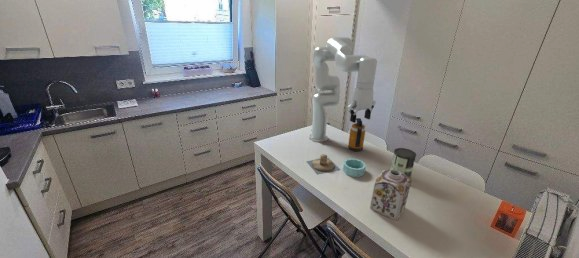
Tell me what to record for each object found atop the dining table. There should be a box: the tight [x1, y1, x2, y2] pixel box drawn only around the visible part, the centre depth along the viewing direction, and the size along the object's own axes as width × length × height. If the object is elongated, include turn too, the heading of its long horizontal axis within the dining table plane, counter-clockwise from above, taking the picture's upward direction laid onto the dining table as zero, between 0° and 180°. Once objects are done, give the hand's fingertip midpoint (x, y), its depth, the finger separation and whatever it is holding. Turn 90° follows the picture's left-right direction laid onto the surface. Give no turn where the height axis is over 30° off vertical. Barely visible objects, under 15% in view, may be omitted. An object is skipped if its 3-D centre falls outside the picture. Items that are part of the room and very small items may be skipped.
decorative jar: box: [369, 169, 412, 222], centre depth 104 cm, size 12×12×18 cm
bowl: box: [342, 158, 366, 178], centre depth 132 cm, size 11×11×5 cm
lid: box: [312, 153, 335, 171], centre depth 136 cm, size 12×12×6 cm
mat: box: [306, 157, 341, 175], centre depth 138 cm, size 14×14×1 cm
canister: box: [347, 117, 366, 152], centre depth 154 cm, size 9×11×20 cm
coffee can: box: [390, 147, 417, 180], centre depth 128 cm, size 10×10×14 cm
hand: (360, 120), depth 122 cm, fingers open, 9 cm apart
